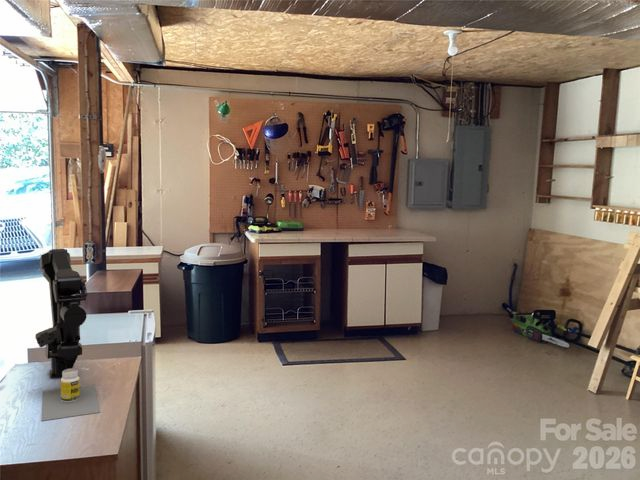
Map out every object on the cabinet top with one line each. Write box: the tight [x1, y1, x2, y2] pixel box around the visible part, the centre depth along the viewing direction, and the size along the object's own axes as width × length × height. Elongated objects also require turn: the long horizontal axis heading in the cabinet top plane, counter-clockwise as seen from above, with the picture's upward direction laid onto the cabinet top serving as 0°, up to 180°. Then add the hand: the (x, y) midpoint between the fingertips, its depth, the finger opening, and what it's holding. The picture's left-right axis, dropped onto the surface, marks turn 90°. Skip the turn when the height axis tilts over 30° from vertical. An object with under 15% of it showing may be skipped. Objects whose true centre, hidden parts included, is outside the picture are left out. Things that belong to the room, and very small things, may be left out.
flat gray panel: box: [40, 384, 101, 422], centre depth 146 cm, size 20×14×1 cm
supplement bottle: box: [60, 367, 81, 403], centre depth 146 cm, size 5×5×8 cm
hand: (69, 370), depth 153 cm, fingers closed
